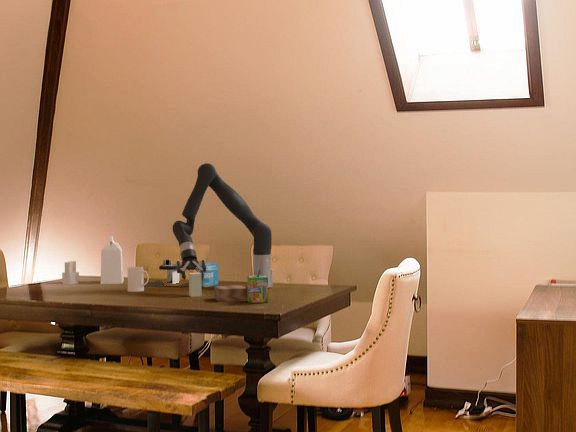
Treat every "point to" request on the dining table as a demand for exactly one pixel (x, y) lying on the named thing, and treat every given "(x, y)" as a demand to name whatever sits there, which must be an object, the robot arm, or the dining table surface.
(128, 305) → the dining table surface
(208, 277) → the data package
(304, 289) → the dining table surface
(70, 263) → the cylinder with rectangular tab
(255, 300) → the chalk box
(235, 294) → the walnut block
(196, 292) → the tea tin
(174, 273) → the black-topped pedestal
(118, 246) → the milk
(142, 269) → the mug
